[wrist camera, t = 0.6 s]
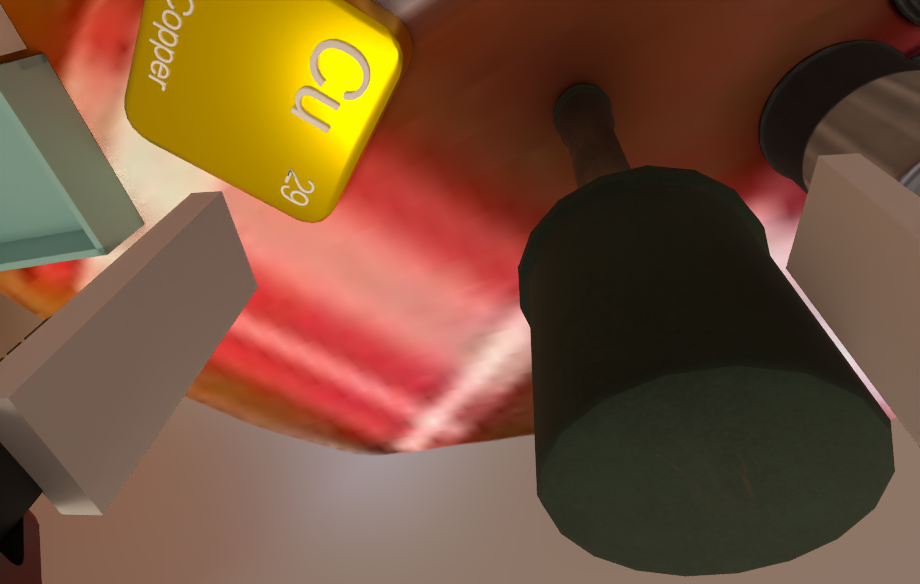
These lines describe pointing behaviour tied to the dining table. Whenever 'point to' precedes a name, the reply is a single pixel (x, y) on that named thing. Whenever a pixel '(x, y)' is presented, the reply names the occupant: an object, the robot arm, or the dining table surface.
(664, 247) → the stick grenade
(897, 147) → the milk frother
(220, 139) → the element tile
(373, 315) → the dining table surface
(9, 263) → the tray
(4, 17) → the board
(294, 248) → the dining table surface
